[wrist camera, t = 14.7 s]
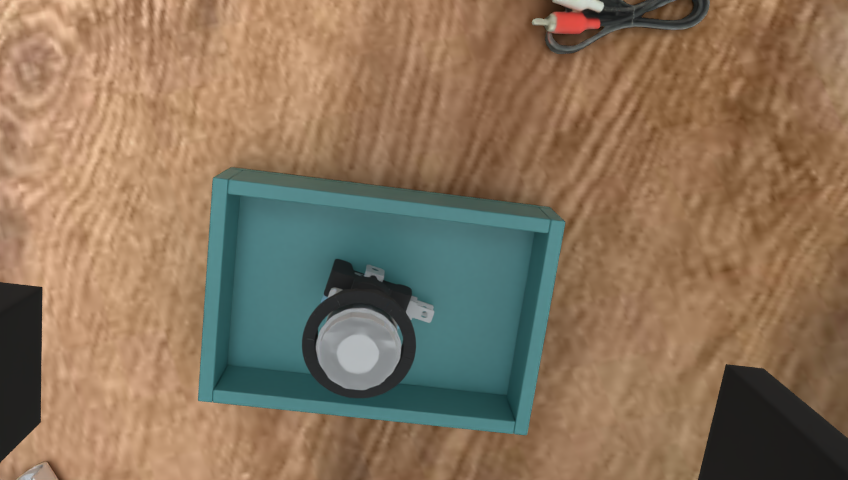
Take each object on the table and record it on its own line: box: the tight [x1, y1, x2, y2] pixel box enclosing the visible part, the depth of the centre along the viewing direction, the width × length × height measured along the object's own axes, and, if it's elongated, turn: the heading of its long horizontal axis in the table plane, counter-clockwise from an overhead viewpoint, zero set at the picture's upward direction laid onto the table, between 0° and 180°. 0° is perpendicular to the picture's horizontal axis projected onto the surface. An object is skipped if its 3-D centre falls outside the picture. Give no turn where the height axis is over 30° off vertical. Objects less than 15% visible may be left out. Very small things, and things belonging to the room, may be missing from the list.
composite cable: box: [532, 0, 710, 54], centre depth 39 cm, size 10×5×2 cm, turn 81°
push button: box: [302, 259, 434, 398], centre depth 38 cm, size 7×5×10 cm
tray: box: [198, 167, 565, 435], centre depth 41 cm, size 19×13×4 cm
